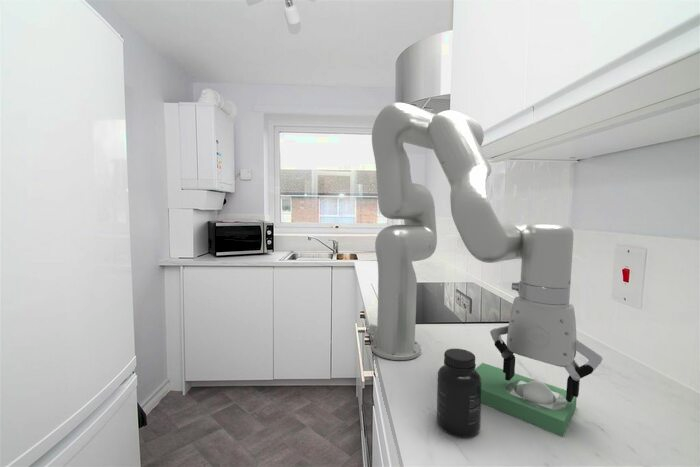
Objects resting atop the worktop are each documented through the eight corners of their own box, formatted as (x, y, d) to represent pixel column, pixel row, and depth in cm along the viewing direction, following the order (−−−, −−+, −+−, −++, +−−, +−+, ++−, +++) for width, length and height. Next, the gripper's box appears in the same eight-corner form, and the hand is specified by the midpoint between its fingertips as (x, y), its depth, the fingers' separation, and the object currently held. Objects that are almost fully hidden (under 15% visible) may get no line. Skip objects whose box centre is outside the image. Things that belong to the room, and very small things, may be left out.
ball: (552, 395, 55) (546, 420, 56) (558, 385, 58) (552, 408, 59) (522, 381, 58) (516, 405, 59) (529, 372, 61) (524, 394, 62)
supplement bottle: (469, 412, 57) (472, 345, 56) (487, 439, 50) (491, 364, 50) (431, 412, 57) (433, 345, 56) (443, 439, 50) (446, 363, 49)
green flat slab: (459, 393, 63) (460, 381, 63) (482, 373, 71) (482, 362, 71) (563, 436, 51) (564, 421, 51) (575, 407, 59) (576, 393, 59)
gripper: (485, 288, 60) (481, 377, 62) (603, 309, 49) (595, 418, 50) (500, 282, 66) (496, 364, 67) (608, 299, 54) (601, 399, 55)
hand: (538, 387), depth 58 cm, fingers open, 9 cm apart
